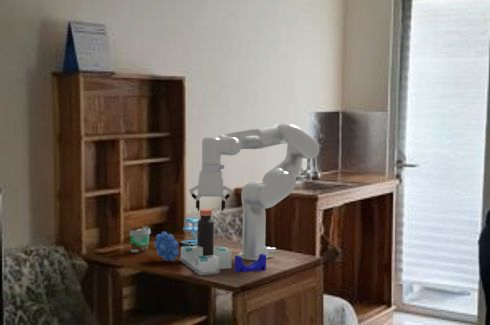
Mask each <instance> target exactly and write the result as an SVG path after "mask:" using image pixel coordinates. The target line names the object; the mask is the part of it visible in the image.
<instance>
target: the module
mask: <svg viewBox="0 0 490 325" xmlns="http://www.w3.org/2000/svg"><path fill="white" fill-rule="evenodd" d="M232 252H233V250H232V249H230V248H228V247H226V246H215V247H213V255H216V256H217V257H219V269H220V270H224V269H232V257H233V256H232Z"/></svg>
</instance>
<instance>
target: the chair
mask: <svg viewBox="0 0 490 325" xmlns="http://www.w3.org/2000/svg"><path fill="white" fill-rule="evenodd" d="M199 220H200V218H199V219H198V218H192V217H187V218H185V219H184V220H183V222H184V225H185V226H184V227H183V228H182V230H184V231H189V232H191V234H192V236H193V238H194V239H192V240H191V239H190V240H189V239H188V240H181V241H180V242H181V243H183V244H182V245H186V244H188V245H187V246H190V245H194V246H197V245H196V244H197V235H196V233H198V226H196V225H195V224H197V223H198V221H199ZM187 223H189V224H192V226H188V224H187ZM195 232H196V233H195ZM188 242H191V243H188Z"/></svg>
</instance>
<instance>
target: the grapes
mask: <svg viewBox="0 0 490 325" xmlns="http://www.w3.org/2000/svg"><path fill="white" fill-rule="evenodd" d="M155 238H156V240H155V241H154V243H153V245H154V247H155V248H156V254H157V255H158V256H160V257H161V258H162V259H163V261H165V262H168V261H169V260H170V261H171V262H174V261H176V257H178V256H179V255H180V251H179V250H178V248H179V243H178V241H176V240H175V236H174V235H173V234H171V233H169V234H168V232H166V231H161V233H157V234H156V236H155Z"/></svg>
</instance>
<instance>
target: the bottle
mask: <svg viewBox="0 0 490 325" xmlns="http://www.w3.org/2000/svg"><path fill="white" fill-rule="evenodd" d="M212 215H213V210H212V209H210V208H200V209H199V217H200V218H199V221H198V222H197V227H198V232H196V233H197V235H196V237H197V245H196V246H201V247H203V256H211V255H213V249H214V243H215V242H214V240H215V239H214V236H215V234H214V232H215V227H214V226H215V221H214V219H212Z"/></svg>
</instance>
